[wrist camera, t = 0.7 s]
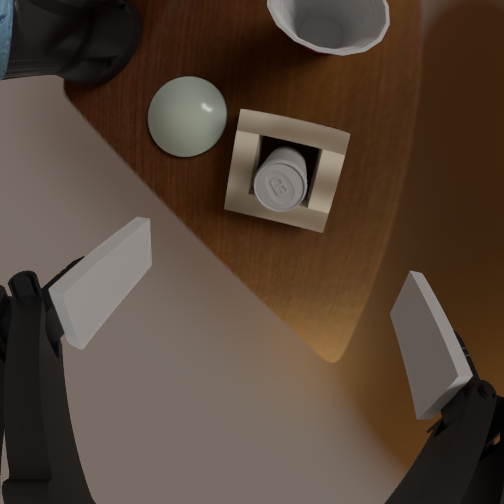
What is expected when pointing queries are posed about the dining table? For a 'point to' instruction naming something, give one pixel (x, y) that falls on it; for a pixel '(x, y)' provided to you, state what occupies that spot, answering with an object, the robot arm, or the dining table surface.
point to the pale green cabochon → (187, 116)
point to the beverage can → (281, 180)
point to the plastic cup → (332, 23)
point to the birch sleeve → (266, 124)
